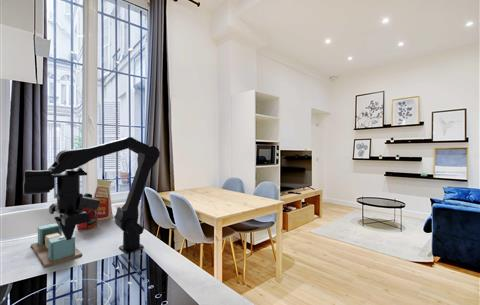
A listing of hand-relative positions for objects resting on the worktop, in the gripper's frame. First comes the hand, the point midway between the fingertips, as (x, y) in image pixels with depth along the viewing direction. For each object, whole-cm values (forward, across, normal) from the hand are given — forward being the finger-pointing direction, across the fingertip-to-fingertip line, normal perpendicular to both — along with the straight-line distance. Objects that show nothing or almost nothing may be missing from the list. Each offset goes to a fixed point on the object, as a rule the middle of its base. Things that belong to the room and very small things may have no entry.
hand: (68, 239), depth 72 cm
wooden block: (+8, +15, 0) cm, 17 cm away
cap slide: (+8, +7, 0) cm, 11 cm away
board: (+9, +15, 0) cm, 17 cm away
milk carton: (+9, +42, -25) cm, 50 cm away
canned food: (+9, +32, -15) cm, 36 cm away
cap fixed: (+8, +23, 0) cm, 25 cm away
